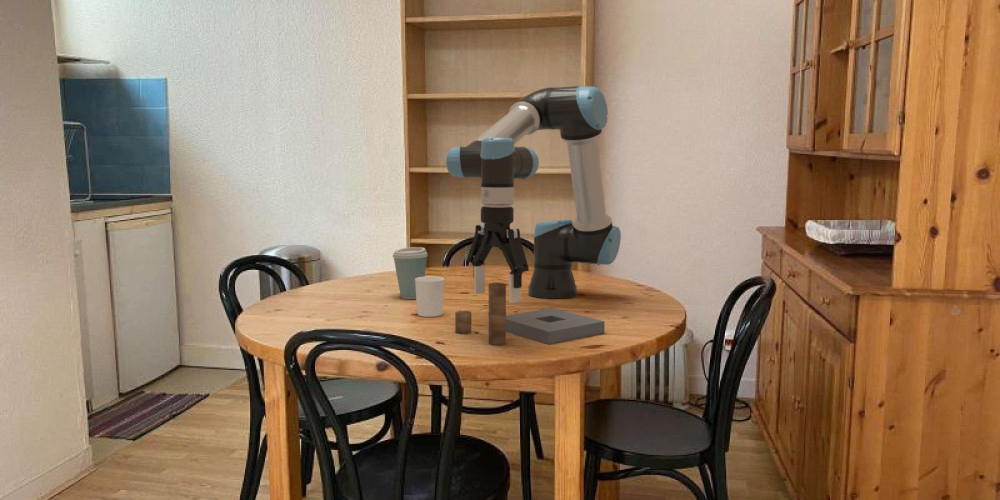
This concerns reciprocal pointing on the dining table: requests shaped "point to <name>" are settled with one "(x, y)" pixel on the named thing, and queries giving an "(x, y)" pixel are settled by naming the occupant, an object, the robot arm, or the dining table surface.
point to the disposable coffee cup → (409, 269)
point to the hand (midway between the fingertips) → (496, 297)
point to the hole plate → (553, 325)
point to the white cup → (429, 296)
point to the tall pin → (497, 314)
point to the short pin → (463, 322)
